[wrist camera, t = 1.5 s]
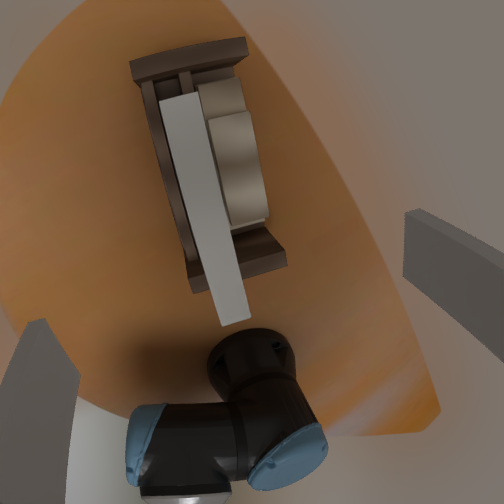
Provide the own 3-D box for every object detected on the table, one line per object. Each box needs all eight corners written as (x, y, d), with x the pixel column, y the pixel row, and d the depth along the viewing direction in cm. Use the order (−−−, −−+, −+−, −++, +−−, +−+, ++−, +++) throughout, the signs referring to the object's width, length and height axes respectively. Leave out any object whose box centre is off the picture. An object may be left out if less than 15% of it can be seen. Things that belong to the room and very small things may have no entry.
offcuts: (261, 216, 42) (273, 230, 37) (225, 226, 41) (233, 241, 37) (233, 78, 34) (243, 72, 29) (193, 86, 33) (197, 81, 29)
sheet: (206, 215, 40) (251, 317, 21) (191, 220, 40) (222, 326, 21) (179, 106, 34) (197, 91, 15) (163, 111, 34) (158, 101, 14)
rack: (264, 235, 45) (287, 265, 37) (186, 258, 43) (193, 294, 35) (227, 53, 34) (245, 36, 25) (138, 74, 32) (129, 61, 24)
